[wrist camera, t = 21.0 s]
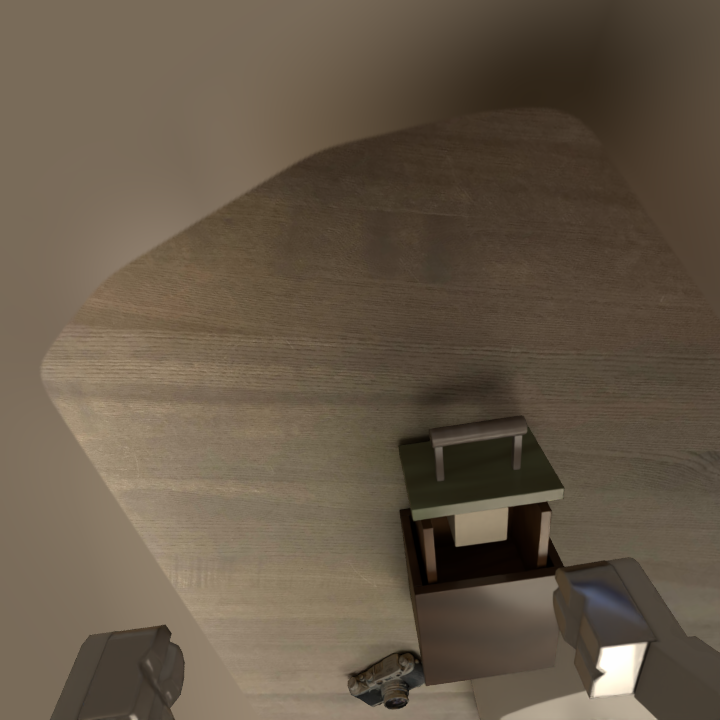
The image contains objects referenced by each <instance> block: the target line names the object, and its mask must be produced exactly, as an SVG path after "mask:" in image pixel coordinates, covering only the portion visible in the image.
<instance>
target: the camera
mask: <svg viewBox="0 0 720 720" xmlns="http://www.w3.org/2000/svg"><path fill="white" fill-rule="evenodd" d="M423 684H425V678H424V672H423V666H422V663H421V662H420V661H419V660H418V659H416V658H415V657H413V656H412V655H411V654H410V653H406V654H403V655H399V654H398V653H394V654H392V655H390V656H389V657H387V658H385V659H383V661H382V662H381V663H378V664H376V665H373V667H372V668H370V669H369V670H368V671H366V672H364V673H362V674H360V675H358V676H356V677H351V678H350V679H349V680H348V688H349V691H350V693H351V695H353V696H355V697H357V698H359V699H361V700H362V701H364V702H365V703H367V704H368V705H370V706H373V707H374V706H377V705H380V704H382V703H384V706H385V707H387V708H388V709H392V710H393V709H400V708H403V707H404V706H406V704H407V703H408V702H409V699H408V695H409V690H411V689H413V688H415V687H420V686H421V685H423Z"/></svg>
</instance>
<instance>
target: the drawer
mask: <svg viewBox="0 0 720 720" xmlns="http://www.w3.org/2000/svg"><path fill="white" fill-rule="evenodd" d="M429 436H430V441H428V442H422V443H415V444H408V445H401V446H399V455H400V460H401V465H402V470H403V475H404V480H405V485H406V489H407V494H408V499H409V504H410V509H411V514H412V519H413V521H415V525H416V535H417V544H418V551H419V556H420V561H421V566H422V571H423V576H424V581H425V585H431V584H438V583H445V582H452V581H459V580H466V579H473V578H480V577H487V576H493V575H500V574H507V573H514V572H521V571H528V570H535V569H542V568H546V563H547V553H548V543H549V533H550V523H551V513H552V510H551V508H550V507H549V505H548V503H547V501H553V500H560V499H563V496H564V486H563V485H562V483H561V481H560V480H559V478H558V476H557V474H556V473H555V471H554V469H553V468H552V466H551V464H550V463H549V461H548V459H547V457H546V456H545V454H544V452H543V451H542V449H541V447H540V446H539V444H538V442H537V440H536V439H535V437H534V435H533V434H532V432H531V430H530V429H529V427H527V423H526V420H525V418H524V416H522V415H521V416H514V417H508V418H501V419H494V420H487V421H481V422H474V423H467V424H460V425H454V426H447V427H440V428H433V429H429ZM506 507H508V523H507V540H503V541H495V542H488V543H481V544H473V545H466V546H459V547H456V546H455V543H454V540H453V536H452V533H451V529H450V526H449V522H448V519H447V516H451V515H458V514H464V513H471V512H478V511H485V510H492V509H499V508H506Z"/></svg>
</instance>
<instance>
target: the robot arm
mask: <svg viewBox="0 0 720 720" xmlns="http://www.w3.org/2000/svg"><path fill="white" fill-rule="evenodd" d="M555 580H556V582H557V584H558V588H557V589H556V590H555V591H554V592H553V607H554V613H555V618H556V621H557V624H558V627H559V629H560V632H561V634H562V637H563V639H564V641H566V642H567V643H568V644H569V645H571V646H572V647H573V648H574V649H576V653H575V659H574V665H575V667H576V669H577V672H578V674H579V676H580V678H581V681H582V683H583V685H584V688H585V690H586V692H587V694H588V697H589V699H597V698H606V697H615V696H624V695H633V694H635V695H634V698H635V699H636V700H637V701H638V702H640V703H641V704H642V705H643V706H644V707H645V708H646V709H647V710H648V711H649V712H650V713H651V714H652V715H653V716H654V717H655V718H656V719H657V720H720V653H719V652H718V651H716V650H715V649H713V648H712V647H710V646H709V645H707V644H706V643H704V642H703V641H702V640H700V639H699V638H697V637H696V636H693V637H687V635H686V634H685V632H684V631H683V629H682V628H681V626H680V625H679V623H678V622H677V620H676V619H675V617H674V616H673V614H672V613H671V611H670V610H669V608H668V607H667V605H666V604H665V602H664V601H663V599H662V598H661V596H660V594H659V593H658V591H657V590H656V588H655V587H654V585H653V584H652V582H651V581H650V579H649V578H648V576H647V575H646V573H645V572H644V570H643V569H642V567H641V566H640V564H639V563H638V562H637V561H636V560H635V559H633V558H629V557H628V558H621V559H615V560H608V561H605V560H604V561H598V562H592V563H586V564H580V565H574V566H568V567H562V568H558V569H557V570H556V574H555ZM170 638H171V632H170V631H169V629H168V627H167V626H166V625H161V626H153V627H147V628H139V629H132V630H126V631H125V630H124V631H114V632H108V633H101V634H94V635H90V636H89V637H88V638H87V639H86V641H85V642H84V643H83V644H82V646H81V648H80V651H79V653H78V655H77V658H76V660H75V662H74V665H73V667H72V670H71V672H70V674H69V677H68V679H67V681H66V684H65V686H64V688H63V691H62V693H61V695H60V698H59V700H58V702H57V705H56V707H55V709H54V712H53V714H52V716H51V719H50V720H175V719H174V716H173V714H172V712H171V709H170V708H171V706H172V705H173V704H174V702H175V701H176V700H177V699H178V697H179V696H180V695H181V690H182V686H183V681H184V663H185V662H184V658H183V653H182V651H181V649H180V647H179V646H178V645H176V644H174V643H172V642H170Z"/></svg>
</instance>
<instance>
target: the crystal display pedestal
mask: <svg viewBox="0 0 720 720" xmlns="http://www.w3.org/2000/svg"><path fill="white" fill-rule="evenodd" d="M575 653H576V649H574V648H573V647H572V646H571V645H569V644H568V643H567V642H566V641H564V639H563V637H562V634H561V632H559V639H558V646H557V654H556V661H555V667H554V668H549V669H542V670H535V671H528V672H521V673H514V674H507V675H500V676H493V677H486V678H479V679H472V680H471V683H472V687H473V692H474V696H475V701H476V705H477V709H478V713H479V717H480V720H657V719H656V718H655V717H654V716H653V715H652V714H651V713H650V712H649V711H648V710H647V709H646V708H645V707H644V706H643V705H642V704H641V703H640V702H638V701H637V700H636V699H635V698H634V695H635V694H633V695H624V696H615V697H606V698H597V699H589V697H588V694H587V692H586V690H585V688H584V685H583V683H582V681H581V678H580V676H579V674H578V672H577V669H576V667H575V665H574V659H575Z"/></svg>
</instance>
